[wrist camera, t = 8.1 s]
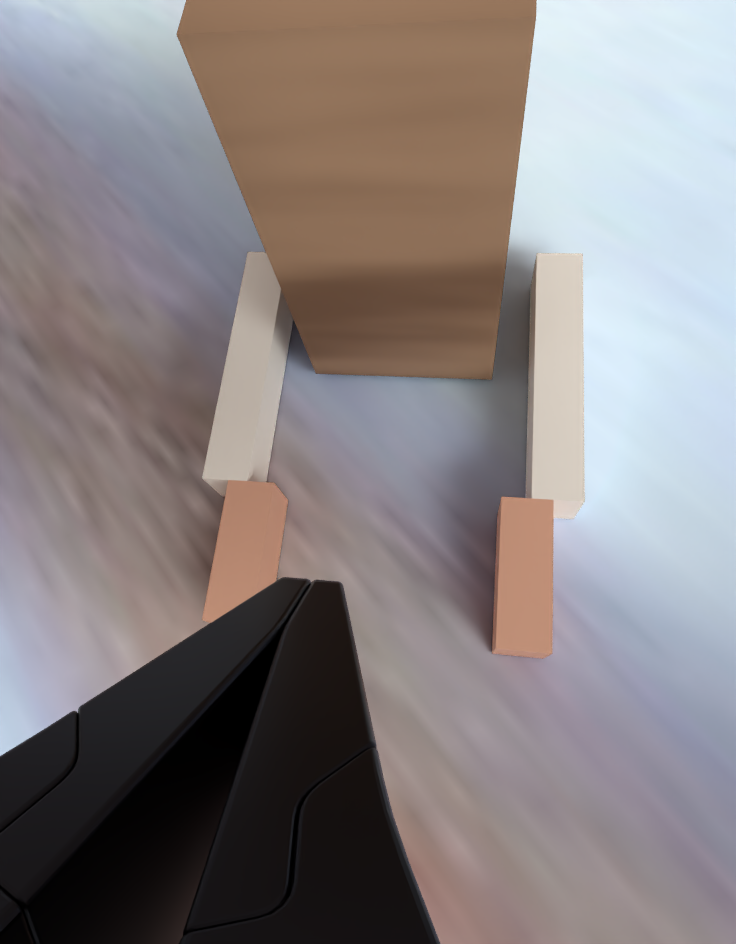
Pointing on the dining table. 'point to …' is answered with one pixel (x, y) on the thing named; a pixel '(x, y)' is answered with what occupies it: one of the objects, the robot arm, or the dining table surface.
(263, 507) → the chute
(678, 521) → the dining table surface
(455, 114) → the block
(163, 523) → the dining table surface
